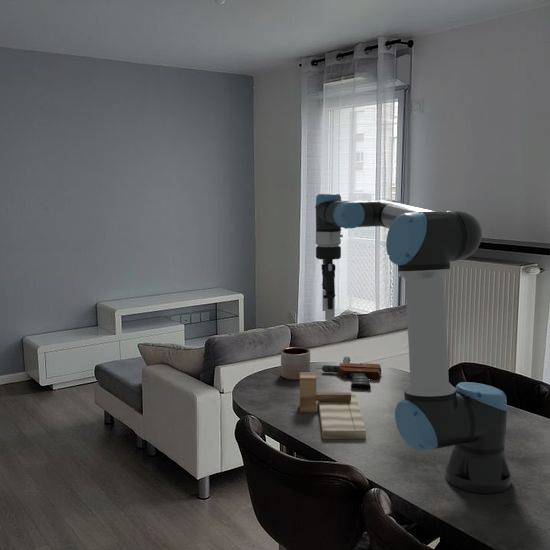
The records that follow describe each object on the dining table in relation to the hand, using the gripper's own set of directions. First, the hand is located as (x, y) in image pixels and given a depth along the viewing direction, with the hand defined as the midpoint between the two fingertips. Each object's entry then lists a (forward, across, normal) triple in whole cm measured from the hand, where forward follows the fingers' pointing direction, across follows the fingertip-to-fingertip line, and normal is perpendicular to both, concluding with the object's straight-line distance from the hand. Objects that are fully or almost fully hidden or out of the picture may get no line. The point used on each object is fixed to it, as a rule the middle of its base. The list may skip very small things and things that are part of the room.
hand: (328, 315), depth 196 cm
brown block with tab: (+31, +3, +1) cm, 31 cm away
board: (+31, -6, -3) cm, 31 cm away
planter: (+31, +38, +10) cm, 49 cm away
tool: (+31, +37, -8) cm, 49 cm away
